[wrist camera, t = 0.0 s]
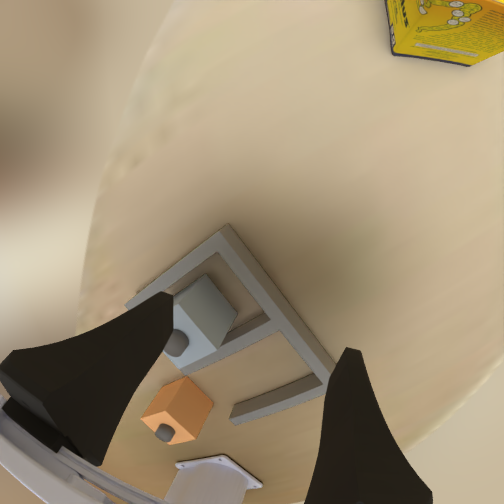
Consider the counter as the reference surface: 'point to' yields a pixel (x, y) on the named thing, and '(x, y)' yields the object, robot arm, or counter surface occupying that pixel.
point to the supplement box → (446, 29)
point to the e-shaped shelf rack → (253, 325)
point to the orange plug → (178, 412)
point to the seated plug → (198, 322)
